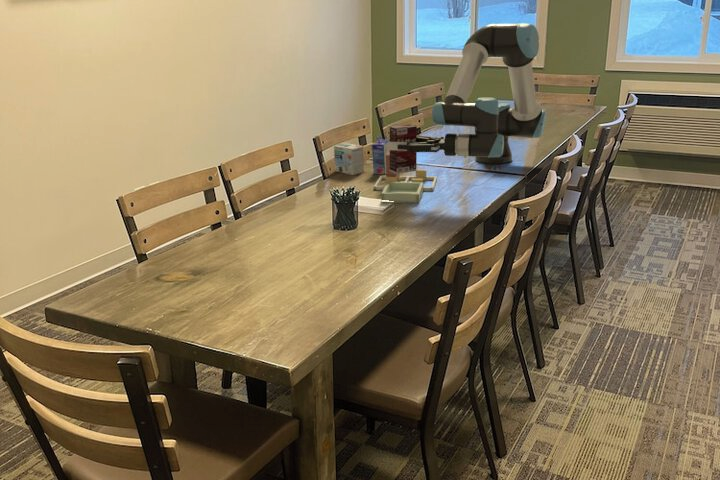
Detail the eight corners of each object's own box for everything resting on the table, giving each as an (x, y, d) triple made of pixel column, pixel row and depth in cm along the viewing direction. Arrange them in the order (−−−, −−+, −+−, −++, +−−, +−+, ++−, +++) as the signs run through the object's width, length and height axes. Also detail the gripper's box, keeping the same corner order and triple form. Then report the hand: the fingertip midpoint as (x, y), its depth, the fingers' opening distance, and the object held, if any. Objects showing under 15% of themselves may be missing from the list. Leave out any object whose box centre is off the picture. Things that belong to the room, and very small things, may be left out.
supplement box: (396, 174, 235) (395, 128, 230) (389, 171, 239) (388, 126, 234) (417, 171, 239) (417, 125, 233) (410, 168, 243) (409, 123, 237)
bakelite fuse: (399, 182, 261) (398, 151, 256) (396, 186, 255) (396, 155, 251) (388, 182, 261) (388, 151, 257) (386, 186, 256) (385, 155, 252)
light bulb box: (334, 171, 280) (333, 145, 276) (345, 168, 284) (344, 142, 281) (353, 175, 273) (352, 148, 269) (364, 171, 277) (363, 145, 274)
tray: (423, 191, 248) (423, 182, 247) (418, 203, 234) (418, 194, 233) (388, 190, 251) (387, 181, 249) (381, 202, 237) (381, 193, 236)
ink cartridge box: (379, 168, 282) (378, 133, 277) (392, 168, 281) (392, 133, 276) (372, 174, 274) (371, 138, 269) (385, 174, 272) (384, 138, 267)
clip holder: (437, 179, 263) (437, 169, 261) (433, 191, 248) (433, 180, 246) (380, 178, 267) (380, 168, 265) (373, 189, 252) (373, 179, 251)
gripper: (451, 163, 222) (384, 160, 228) (461, 148, 241) (399, 146, 248) (452, 140, 219) (384, 138, 225) (461, 127, 239) (398, 126, 245)
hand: (392, 143), depth 236 cm, fingers closed on supplement box, 9 cm apart
